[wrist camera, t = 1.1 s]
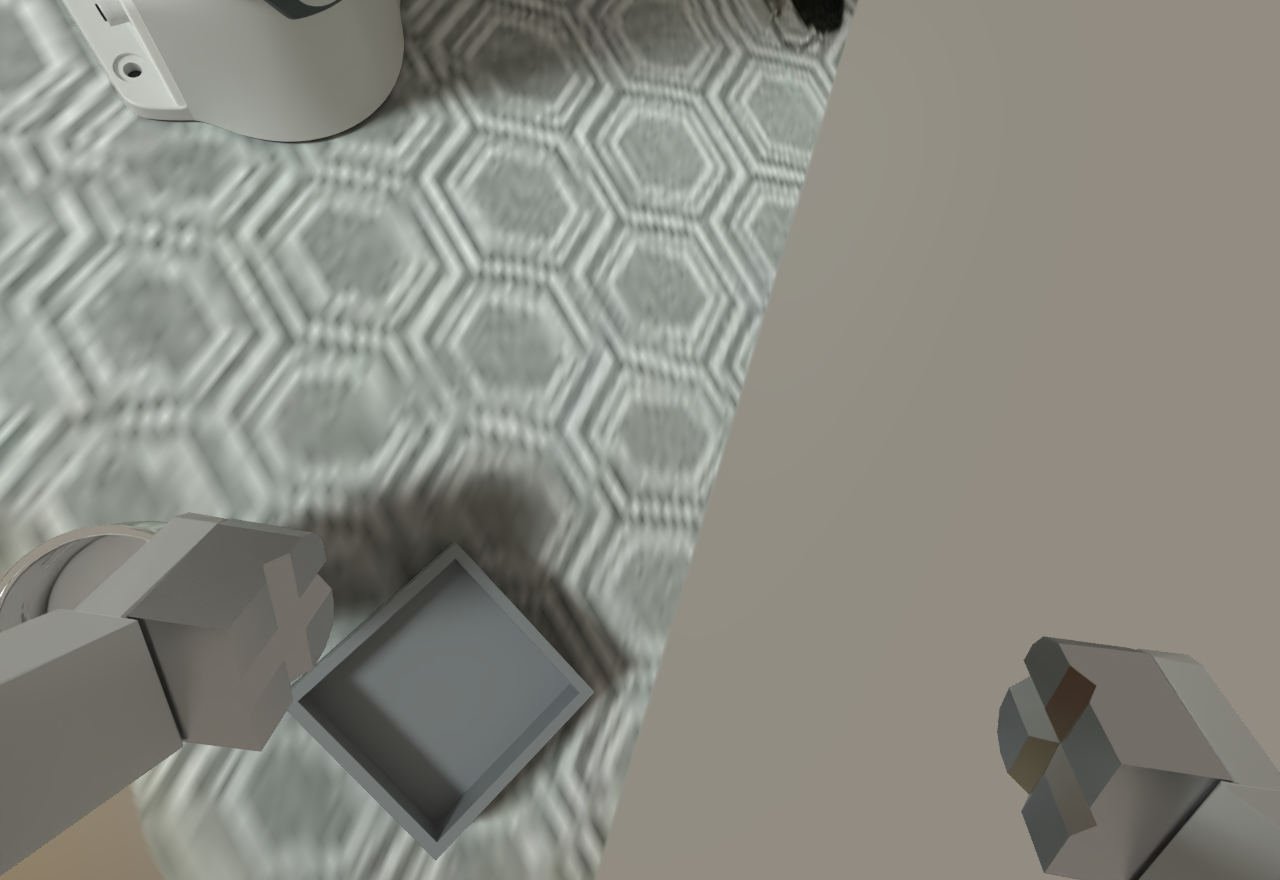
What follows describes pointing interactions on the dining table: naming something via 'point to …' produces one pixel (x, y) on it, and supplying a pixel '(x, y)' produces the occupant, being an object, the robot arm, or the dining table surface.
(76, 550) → the silver tall rounded piece
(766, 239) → the dining table surface
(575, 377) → the dining table surface
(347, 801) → the dining table surface
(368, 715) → the box
